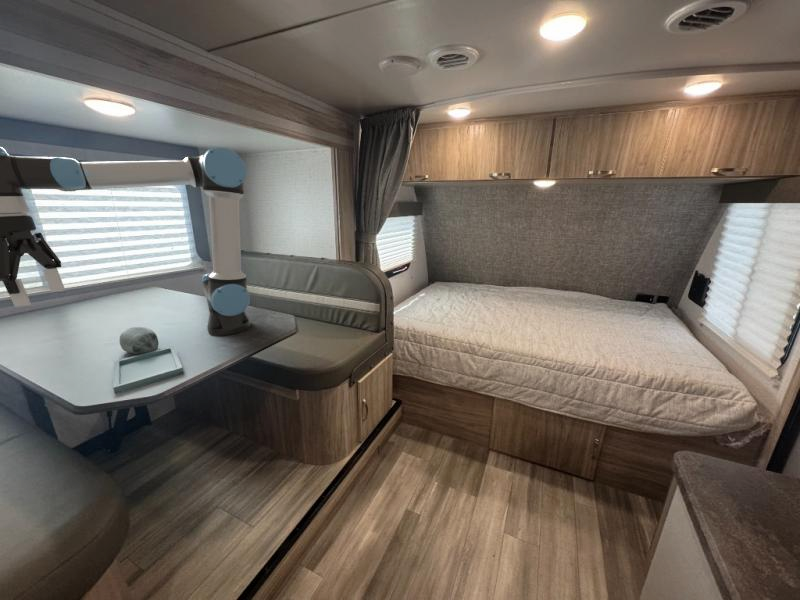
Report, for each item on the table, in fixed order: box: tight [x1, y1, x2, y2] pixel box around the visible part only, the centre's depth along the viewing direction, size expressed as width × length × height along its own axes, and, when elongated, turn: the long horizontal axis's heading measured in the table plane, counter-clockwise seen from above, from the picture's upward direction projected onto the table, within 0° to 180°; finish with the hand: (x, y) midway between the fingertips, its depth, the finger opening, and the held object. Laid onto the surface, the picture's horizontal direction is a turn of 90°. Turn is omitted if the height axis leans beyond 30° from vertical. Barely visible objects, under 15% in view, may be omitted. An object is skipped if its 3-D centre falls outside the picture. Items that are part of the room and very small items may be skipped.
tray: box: [112, 345, 185, 395], centre depth 94 cm, size 15×19×2 cm
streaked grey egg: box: [119, 326, 160, 355], centre depth 106 cm, size 14×10×10 cm
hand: (42, 297), depth 83 cm, fingers open, 13 cm apart
